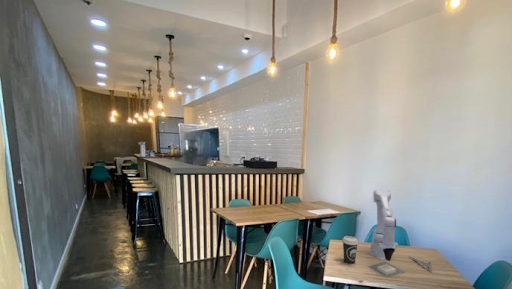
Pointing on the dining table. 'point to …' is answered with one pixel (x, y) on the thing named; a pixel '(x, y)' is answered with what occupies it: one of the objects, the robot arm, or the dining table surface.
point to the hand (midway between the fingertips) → (387, 260)
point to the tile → (386, 269)
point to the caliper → (423, 263)
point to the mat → (398, 271)
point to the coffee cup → (349, 249)
